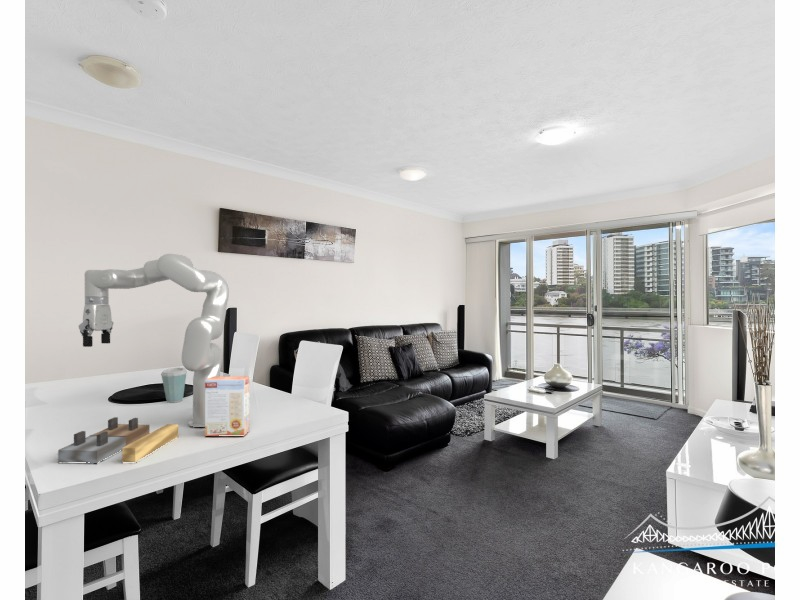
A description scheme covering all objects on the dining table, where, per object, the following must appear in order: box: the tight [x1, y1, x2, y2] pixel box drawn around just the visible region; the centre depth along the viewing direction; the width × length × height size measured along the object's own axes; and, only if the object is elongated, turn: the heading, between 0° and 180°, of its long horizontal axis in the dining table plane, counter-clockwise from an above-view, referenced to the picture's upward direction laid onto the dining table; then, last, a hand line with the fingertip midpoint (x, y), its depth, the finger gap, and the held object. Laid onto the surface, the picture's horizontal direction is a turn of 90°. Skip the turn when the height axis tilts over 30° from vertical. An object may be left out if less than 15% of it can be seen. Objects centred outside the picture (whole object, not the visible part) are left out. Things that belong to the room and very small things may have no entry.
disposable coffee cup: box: [160, 367, 188, 403], centre depth 190 cm, size 11×11×15 cm
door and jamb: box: [57, 416, 151, 463], centre depth 133 cm, size 12×24×8 cm, turn 178°
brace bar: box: [121, 423, 179, 463], centre depth 133 cm, size 4×22×5 cm, turn 178°
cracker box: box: [204, 376, 250, 436], centre depth 147 cm, size 14×6×21 cm, turn 92°
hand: (97, 344), depth 159 cm, fingers open, 9 cm apart
